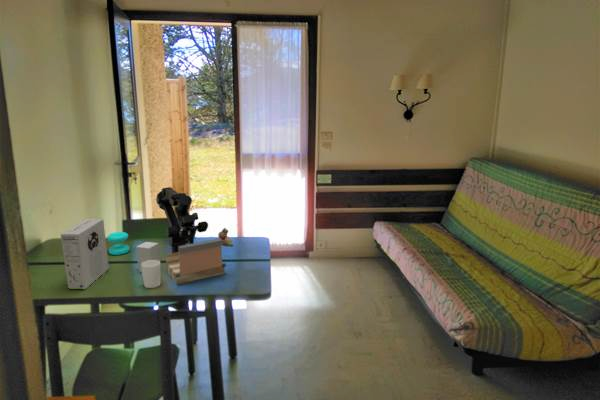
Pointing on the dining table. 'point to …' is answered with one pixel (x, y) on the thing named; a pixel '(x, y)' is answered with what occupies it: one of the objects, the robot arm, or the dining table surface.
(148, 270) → the white cup
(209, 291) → the dining table surface
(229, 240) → the chocolate bunny
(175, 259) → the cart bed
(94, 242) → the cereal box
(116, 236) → the donuts
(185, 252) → the panel
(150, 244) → the supplement box
